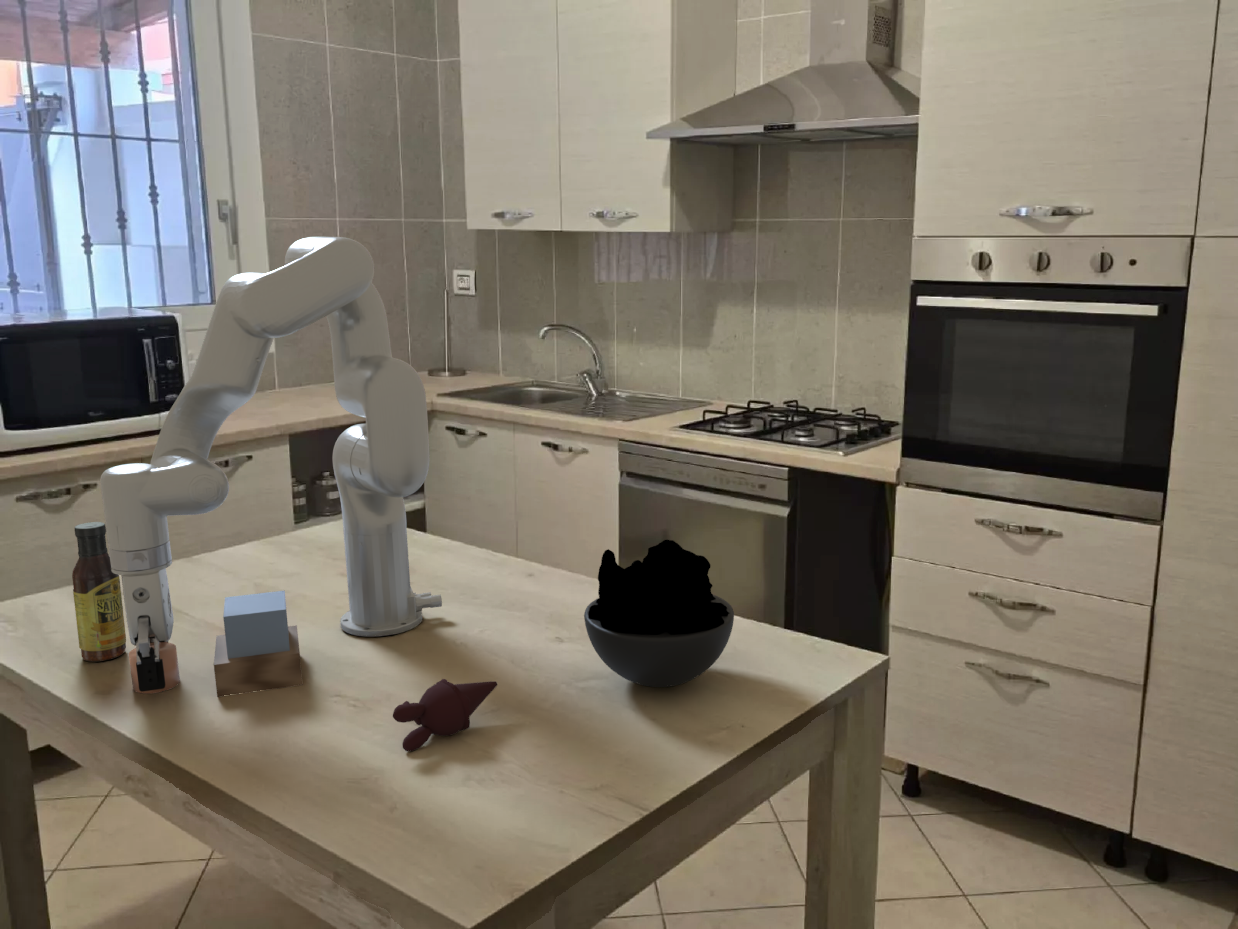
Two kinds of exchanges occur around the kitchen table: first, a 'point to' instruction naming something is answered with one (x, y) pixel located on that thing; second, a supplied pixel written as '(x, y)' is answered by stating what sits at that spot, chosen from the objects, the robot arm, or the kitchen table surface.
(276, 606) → the tower middle
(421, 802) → the kitchen table surface
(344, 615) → the robot arm
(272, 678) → the tower base
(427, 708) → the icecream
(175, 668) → the terracotta cylinder
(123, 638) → the sauce bottle
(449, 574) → the kitchen table surface
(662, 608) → the coal bowl
